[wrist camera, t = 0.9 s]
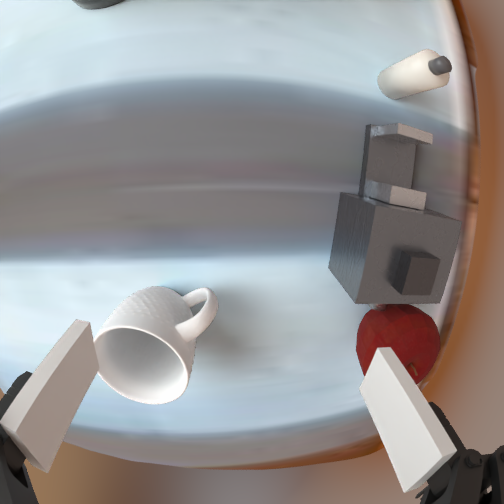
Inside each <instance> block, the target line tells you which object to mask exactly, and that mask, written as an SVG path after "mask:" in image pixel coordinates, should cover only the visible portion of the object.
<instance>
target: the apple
mask: <svg viewBox="0 0 504 504" xmlns="http://www.w3.org/2000/svg"><path fill="white" fill-rule="evenodd" d="M382 347H391V349H392V350H393V351H394V353H395V354H396V356H397V357H398V359H399V360H400V362H401V363H402V364H403V366H404V367H405V369H406V370H407V372H408V373H409V375H410V376H411V378H412V379H413V381H414V382H415V384H418V383H419V382H420V381H421V380H422V379H423V378H424V377H425V376H426V375H427V374H428V373H429V371H430V370H431V368H432V367H433V365H434V363H435V361H436V359H437V356H438V354H439V351H440V336H439V333H438V329H437V326H436V324H435V322H434V321H433V319H432V318H431V317H430V316H429V315H427V314H426V313H424V312H423V311H421V310H420V309H419V308H416V307H414V306H412V305H409V304H387V308H386V310H385V311H377V310H374V309H371V310H370V311H369V312H367V313H366V314H365V316H364V318H363V319H362V321H361V323H360V325H359V329H358V333H357V345H356V351H357V355H358V359H359V363H360V365H361V368H362V371H363V374H364V376H365V375H366V373H367V371H368V369H369V366H370V364H371V362H372V359H373V357H374V355H375V352H376V350H377V348H382Z"/></svg>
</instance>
